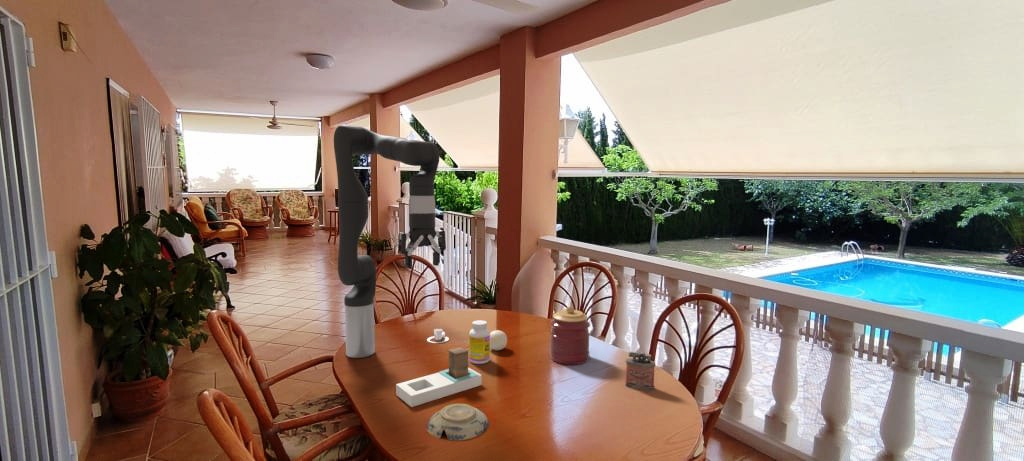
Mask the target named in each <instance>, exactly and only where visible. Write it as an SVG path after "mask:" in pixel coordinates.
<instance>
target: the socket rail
mask: <svg viewBox="0 0 1024 461" xmlns="http://www.w3.org/2000/svg"><path fill="white" fill-rule="evenodd" d="M482 376H483V375H482V374H480V372H477V371H475V370H474V369H473V368H470V367H468V375H467V376H464V377H460V378H457V379H454V378H453V377H451V376H449V368H446V369H443V370H440V371H438V372H435V373H431V374H428V375H425V376H421V377H417V378H413V379H411V380H407V381H404V382H403V381H402V382H399V383H396V384H395V388H396V389H395V391H396V392H395V394H396V395H395V396H397V397H398V398H400V399H401V400H402V401H403V402H404V403H405V404H406V405H408V406H409V407H410V408H414V407H416V406H417V407H418V406H420V405H423V404H425V403H428V402H432V401H436V400H438V399H441V398H444V397H448V396H452V395H455V394H457V393H460V392H464V391H467V390H470V389H472V388H476V387H479V386H482V382H483V380H482Z"/></svg>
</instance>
